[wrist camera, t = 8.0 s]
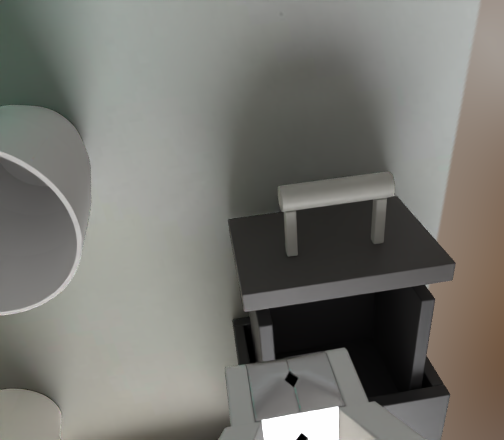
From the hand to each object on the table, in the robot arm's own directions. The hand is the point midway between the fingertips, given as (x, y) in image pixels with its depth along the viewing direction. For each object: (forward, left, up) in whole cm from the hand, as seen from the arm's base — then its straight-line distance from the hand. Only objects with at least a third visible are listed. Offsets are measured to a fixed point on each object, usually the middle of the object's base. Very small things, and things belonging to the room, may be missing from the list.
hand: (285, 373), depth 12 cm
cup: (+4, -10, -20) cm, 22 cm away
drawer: (+8, +9, -18) cm, 22 cm away
